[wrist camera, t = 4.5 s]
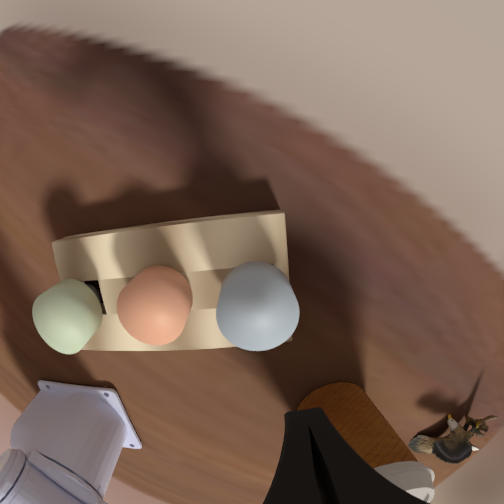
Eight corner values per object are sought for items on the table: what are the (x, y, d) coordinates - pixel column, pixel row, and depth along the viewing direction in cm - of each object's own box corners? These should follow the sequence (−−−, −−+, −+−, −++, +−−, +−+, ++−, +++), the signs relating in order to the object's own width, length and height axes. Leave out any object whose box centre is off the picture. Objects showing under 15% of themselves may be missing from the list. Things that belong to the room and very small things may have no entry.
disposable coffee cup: (290, 363, 21) (321, 502, 9) (398, 365, 21) (468, 465, 10) (268, 442, 23) (278, 553, 12) (361, 439, 24) (397, 533, 12)
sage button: (75, 322, 18) (45, 352, 14) (61, 271, 17) (24, 293, 13) (120, 321, 18) (93, 355, 14) (106, 267, 17) (73, 291, 13)
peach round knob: (148, 313, 19) (126, 345, 15) (136, 259, 18) (109, 281, 14) (201, 310, 19) (191, 344, 15) (192, 253, 18) (178, 276, 14)
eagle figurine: (483, 389, 22) (425, 433, 21) (506, 435, 17) (450, 486, 16) (452, 408, 28) (399, 444, 26) (472, 448, 23) (420, 488, 21)
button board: (92, 336, 20) (81, 349, 18) (66, 236, 18) (51, 242, 16) (288, 326, 20) (292, 340, 18) (280, 209, 18) (284, 213, 16)
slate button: (226, 315, 18) (222, 354, 14) (218, 255, 17) (210, 280, 13) (288, 309, 18) (300, 346, 14) (284, 249, 17) (297, 272, 13)
